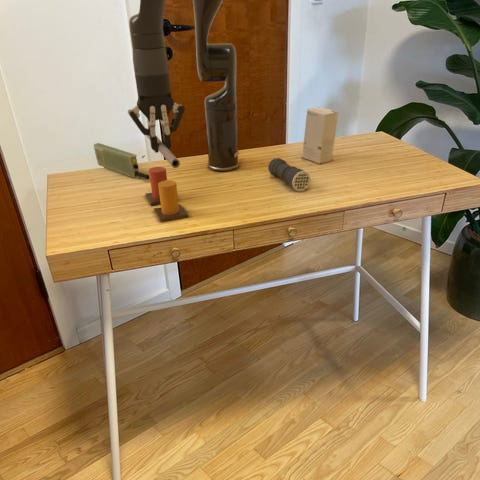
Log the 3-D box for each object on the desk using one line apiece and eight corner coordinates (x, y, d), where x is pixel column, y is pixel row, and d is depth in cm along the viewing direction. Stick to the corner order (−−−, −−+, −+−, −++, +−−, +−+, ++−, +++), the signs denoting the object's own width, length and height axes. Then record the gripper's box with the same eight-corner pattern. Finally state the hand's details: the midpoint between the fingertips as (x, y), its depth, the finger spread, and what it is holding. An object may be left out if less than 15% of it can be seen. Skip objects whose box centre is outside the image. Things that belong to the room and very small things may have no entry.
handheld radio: (105, 162, 150) (153, 179, 136) (96, 165, 148) (144, 183, 134) (100, 141, 146) (149, 157, 132) (91, 144, 144) (140, 160, 130)
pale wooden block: (301, 158, 149) (304, 108, 140) (315, 154, 152) (318, 105, 143) (320, 164, 144) (324, 113, 135) (333, 160, 146) (338, 110, 138)
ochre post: (154, 211, 118) (149, 180, 113) (180, 206, 120) (177, 176, 115) (160, 222, 113) (156, 190, 108) (188, 217, 114) (184, 185, 110)
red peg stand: (145, 196, 126) (141, 167, 121) (170, 192, 128) (167, 163, 123) (151, 205, 121) (146, 175, 116) (176, 201, 123) (173, 171, 118)
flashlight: (266, 176, 137) (266, 157, 133) (282, 173, 138) (282, 154, 135) (292, 193, 125) (293, 173, 122) (309, 189, 127) (311, 170, 124)
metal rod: (171, 168, 101) (170, 159, 100) (146, 138, 122) (145, 130, 121) (180, 167, 102) (179, 158, 101) (153, 137, 122) (152, 129, 121)
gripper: (177, 66, 106) (184, 143, 117) (117, 71, 102) (130, 150, 113) (186, 70, 101) (193, 151, 111) (123, 76, 97) (136, 159, 107)
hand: (161, 150), depth 112 cm, fingers closed on metal rod, 2 cm apart
